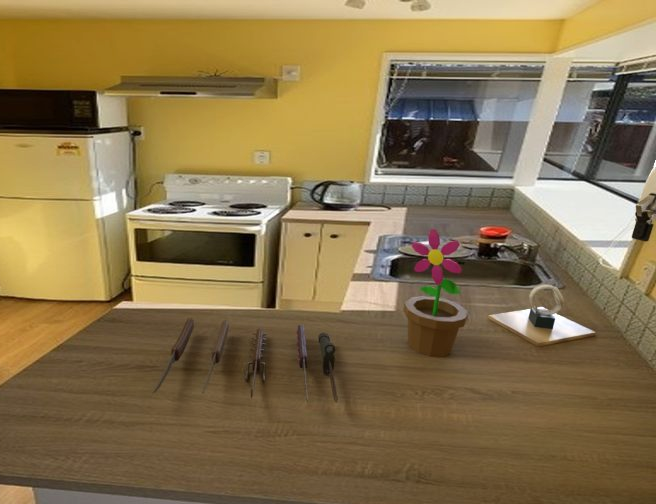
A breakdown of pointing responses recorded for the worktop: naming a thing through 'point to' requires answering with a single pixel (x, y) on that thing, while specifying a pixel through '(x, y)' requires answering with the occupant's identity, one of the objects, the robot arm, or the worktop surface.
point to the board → (541, 336)
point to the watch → (543, 316)
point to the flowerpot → (435, 303)
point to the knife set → (256, 354)
